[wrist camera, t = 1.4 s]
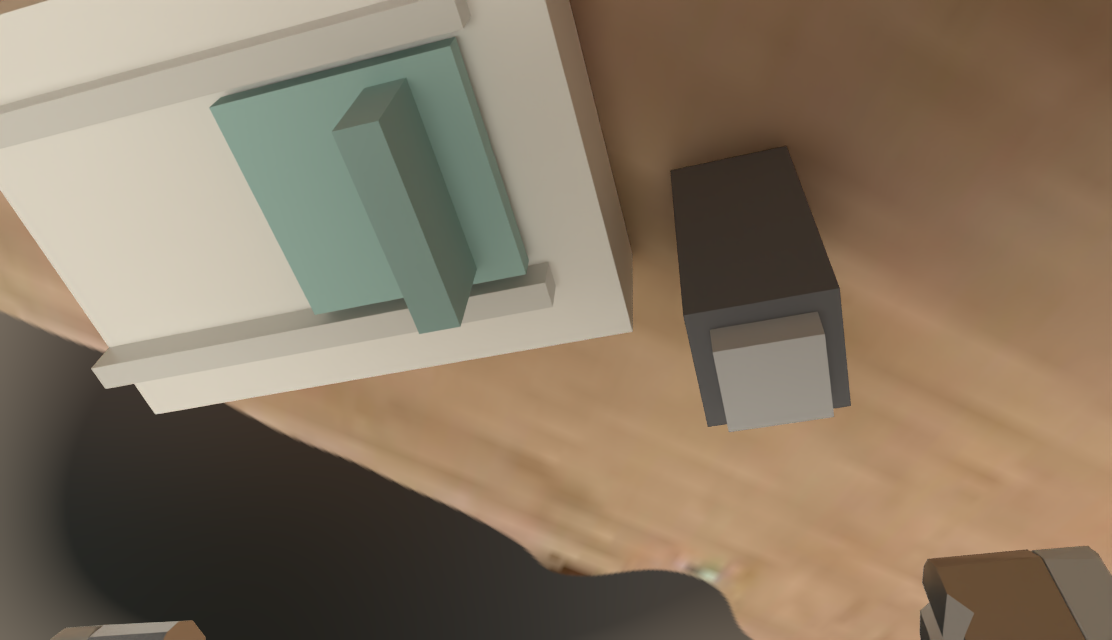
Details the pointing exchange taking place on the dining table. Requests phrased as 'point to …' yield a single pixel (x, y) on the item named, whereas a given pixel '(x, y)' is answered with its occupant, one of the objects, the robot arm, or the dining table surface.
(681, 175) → the plug
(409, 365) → the socket
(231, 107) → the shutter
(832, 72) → the dining table surface
